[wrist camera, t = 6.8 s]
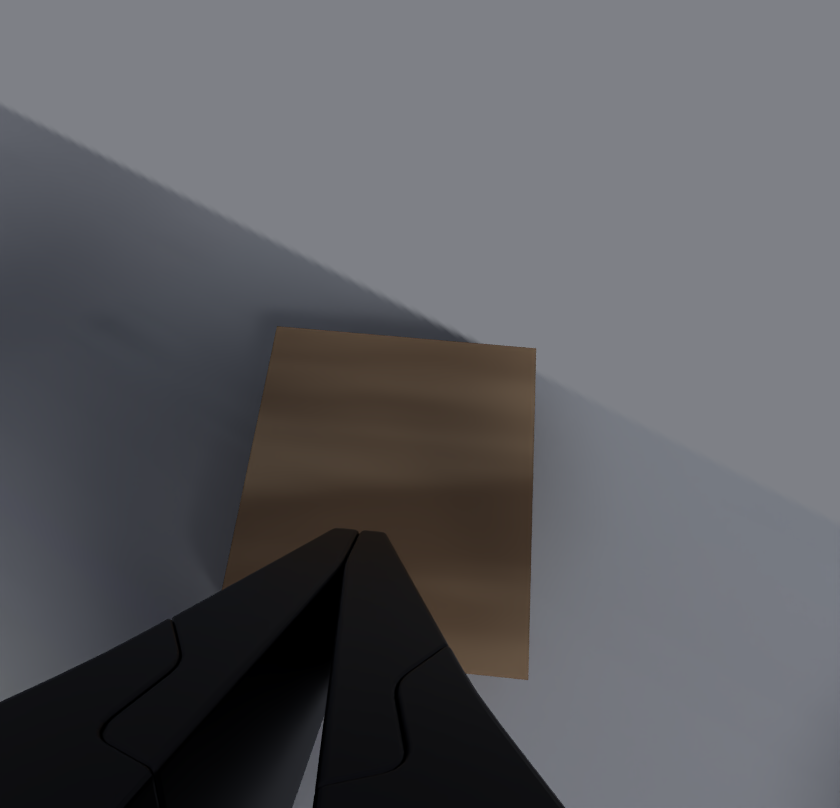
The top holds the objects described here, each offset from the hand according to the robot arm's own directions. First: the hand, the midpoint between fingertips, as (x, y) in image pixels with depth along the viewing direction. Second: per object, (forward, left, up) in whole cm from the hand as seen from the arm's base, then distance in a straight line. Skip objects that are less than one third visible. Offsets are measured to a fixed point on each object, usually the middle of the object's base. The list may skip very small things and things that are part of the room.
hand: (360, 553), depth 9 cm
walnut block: (-2, -1, -6) cm, 6 cm away
